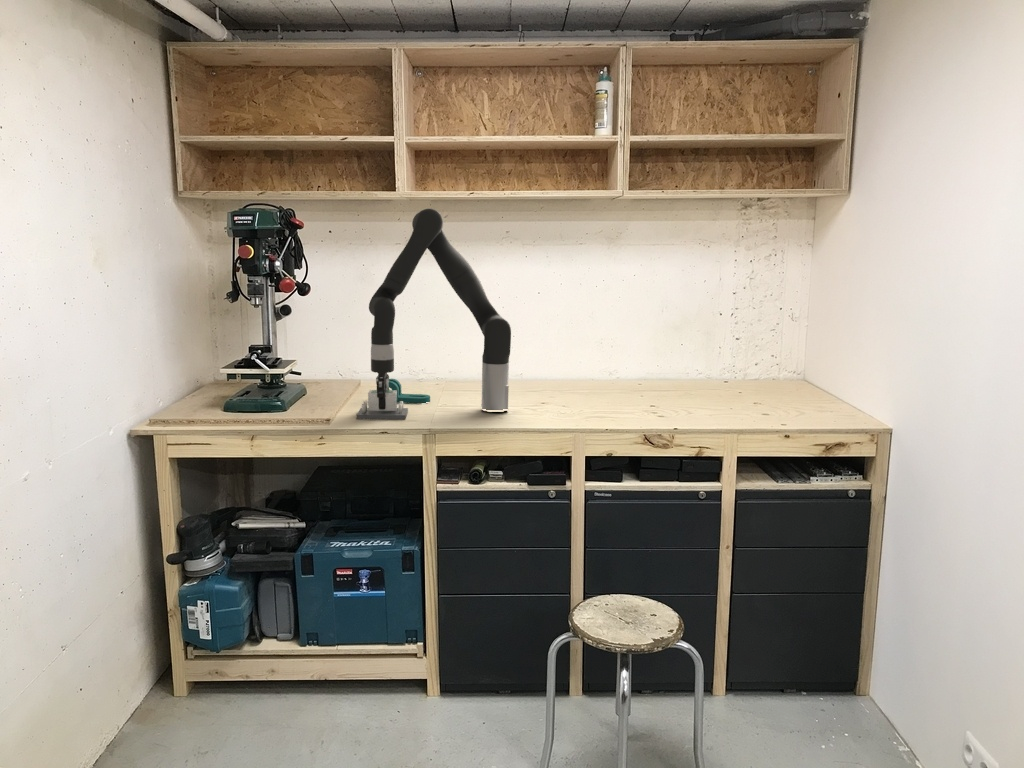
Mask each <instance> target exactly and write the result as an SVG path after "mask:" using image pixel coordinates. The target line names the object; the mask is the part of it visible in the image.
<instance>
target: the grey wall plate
mask: <svg viewBox="0 0 1024 768" xmlns="http://www.w3.org/2000/svg"><path fill="white" fill-rule="evenodd" d="M408 414H409V408H408V407H404V403H403V401H400V403H397V409H396V411H368V400H363V403H361V407H360V409H359V410H358V411H357V413H356V420H387V421H388V420H393V421H394V420H395V421H397V420H401V421H402V420H404V419H407V417H408ZM404 421H405V420H404Z"/></svg>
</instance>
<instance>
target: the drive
mask: <svg viewBox="0 0 1024 768" xmlns="http://www.w3.org/2000/svg"><path fill="white" fill-rule="evenodd" d="M380 394H383V392H380ZM385 401H386V408H385V409H384V410H380V409H379V398H377V389H369V391H368V392H367V408H368V411H396V409H397V408H398V403H397V390H392V389H389V390H387V391H386V398H385Z"/></svg>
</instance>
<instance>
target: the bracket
mask: <svg viewBox="0 0 1024 768" xmlns="http://www.w3.org/2000/svg"><path fill="white" fill-rule="evenodd" d="M388 390H397V404H400V401H403V404H409V403H426V402H430V403H431V395H429V394H422V393H418V394H417V393H403V392H402V384H401V383H400V381H399V380H397V379H396V378H389V388H388ZM426 404H427V403H426Z"/></svg>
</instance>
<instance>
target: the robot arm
mask: <svg viewBox="0 0 1024 768" xmlns="http://www.w3.org/2000/svg"><path fill="white" fill-rule="evenodd" d="M443 219H444V218H443V216H442V214H441V213H440V212H439V211H438V210H436V209H435V208H425V209H422V210H420V211H419V212H417V213H416V214H415V215H414V217H413V219H412V223H411V224H412V229H413V230H412V233H411V235H410V237H409V239H408V241H407V243H406V244H405V246H404V248H403V250H402V251H401V252H400V253H399V255H398V256H397V258H395V259H396V260H395V261H394V262H393V264H392V266H391V267H390V269H389V271H388V273H387V274H386V276H385V278H384V280H383V282H382V283H381V285H380V286H379V287H378V289H377V290H375V292H374V293H373V295H372V296H371V298H370V300H369V303H368V310H369V312H370V314H371V315H372V316H373V318H374V319H373V327H372V328H371V331H370V333H371V334H370V338H371V339H370V341H371V342H370V344H371V346H370V371H371V372H372V373H376V374H377V376H376V377H375V384H376V390H377V398H379V409H380V410H384V409H385V408H386V401H385V398H386V391H387V390H388V388H389V379H390V375H389V374H388V373H392V372H394V370H395V349H394V332H393V331H394V326H395V319H396V308H395V303H394V301H395V300H396V299H397V297H398V296H399V295H401V294H402V293H403V292H404V290H405V288H406V287H407V285H408V283H409V282H410V280H411V277H412V276H413V275H414V272H415V270H416V268H417V267H418V264H419V262H420V260H421V259H422V257H423V255H424V253H426V251H427V249H428V251H429V252H430V254H431V255H432V257H433V258H434V260H435V262H436V263H437V265H438V267H439V269H440V270H441V272H442V273H443V275H444V277H445V278H446V279H445V280H447V282H448V284H449V285H450V286H451V288H452V289H453V291H454V292H455V294H456V295H457V296H458V298H459V299H460V300H461V301H462V303H464V306H466V308H467V309H469V311H470V313H471V314H472V315H473V317H474V319H475V321H476V323H477V324H478V327H479V328H480V330H481V333H482V335H483V337H484V338H483V352H482V356H481V358H482V359H481V360H482V361H481V362H482V364H481V365H482V367H481V407H482V409H486V410H503V409H508V410H509V392H510V391H509V390H510V389H509V387H510V386H509V368H510V367H509V363H510V355H511V348H512V347H511V344H512V329H511V328H512V327H511V325H510V323H509V322H508V320H506V319H505V318H503V316H501V315H500V314H499V312H498V311H497V310H496V308H495V306H493V304H492V303H491V302H490V300H489V298H488V296H487V294H486V292H485V289H484V287H483V285H482V283H481V281H480V278H479V277H478V275H477V274H476V272H475V270H474V269H473V268H472V266H471V264H470V263H469V262H468V261H467V259H466V258H465V257H464V256H463V255H462V254H461V253H460V251H458V250H457V249H456V248H455V247H454V246H453V244H451V242H450V241H449V240H448V238H447V236H446V234H445V232H444V230H443V227H444V220H443ZM389 389H390V388H389ZM380 392H383V394H380Z"/></svg>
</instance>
